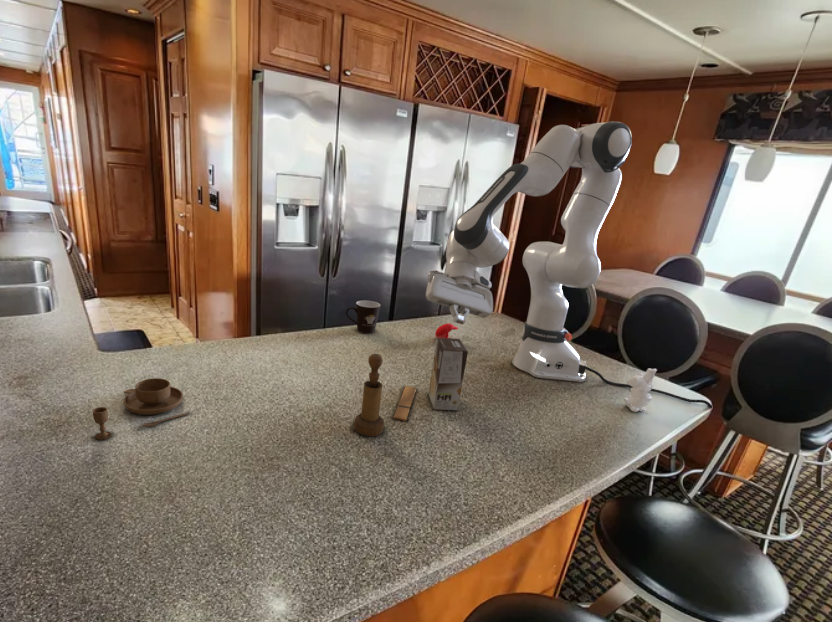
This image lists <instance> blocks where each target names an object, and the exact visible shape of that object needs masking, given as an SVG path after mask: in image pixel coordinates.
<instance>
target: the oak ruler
mask: <svg viewBox="0 0 832 622" xmlns="http://www.w3.org/2000/svg"><path fill="white" fill-rule="evenodd" d="M416 392H417V387H414V386H409V385H405V387H404V389H403V391H402V394H401V397H400V399H399V402H398V404H397V407H396V409H395V413H394V416H393V418H392V419H394V420H396V421H397V420H398V421H403V422H407V419H408V416H409V412H410V411H411V407H412V404H413V401H414V397H415V394H416Z"/></svg>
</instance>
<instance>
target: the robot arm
mask: <svg viewBox="0 0 832 622" xmlns="http://www.w3.org/2000/svg"><path fill="white" fill-rule="evenodd" d="M632 137H633V136H632V131H631V129H630V127H629V126H628V125H627V124H626V123H624V122H620V121H607V122H596V123H591V124H588V125H584V126H582V127H576V128H573V127H571V126H569V125H568V124H567V125H566V124H559V125H555V126H553V127H552V128H550V129H549V131H548V132H546V134H545V135H544V136H542V138H540V140H539V141H538V142H537V143H536V144H535V146H534V147H533V149H532V150H530V152H529V154H528V155H527V157H526V158H525V159H524V160H523V161H522V162H520V163H515V164H512V165H510V166H509V167H507V169H506V170H505V171H503V173H501V174H500V176H499V177H498V178H497V179H496V180H495V181H494V182H493V183H492V184H491V185H490V186H489V188H488V189H487V190H486V191H485V192H484V193H483V194H482V195H481V196H480V197H479V198H478V200H476V202H475V203H474V204H473V205H472V206H471V207H470V208H468V209H467V210H466V211H464V212H463V213H462V214H461V215H460V216H459V217H458V219H457V220H456V222H455V224H454V228H453V230H452V231H451V232H450V234H449V236H448V239H447V241H446V242H447V243H446V249H445V250H446V252H445V259H446V266H445V269H444V272H442V271H439V270H437V269H433V270H430V271H429V272H428V273H427V281H428V283H427V286H426V291H425V298H426V301H428V302H431V303H434V304H437V305H441V306H444V307H447V308H449V312H450V313H451V317H452V322H453V323H456V324H459V325H464V324H465V323H466V317H467V316H468V315H469V314H470V315H472V316H476V317H480V318H482V319H485V318H487V317H489V316H490V315H491V314H493V311H494V298H493V293H492V291H491V290H490V289H491V288H492V282H491V280H489V279H487V278H486V277H485V276H484V275H482V274H481V273H480V272H479V271H477V270H478V269H477V268H487V267H491V266H495V265H498V264H500V263H502V262H503V261H504V259H505V258H506V257H507V256H508V253H509V250H510V242H509V239H508V238H507V237H506V236H505V235H504V233H503V232H502V231H501V230H500V229H499V228H498V227H497V226H496V225H495V224H494V222H493V219H494V216H495V214H496V213H497V212H498V211H499V210H500V209H501V208H502V207H503V205H505V203H506V202H507V201H508V200H509V199H510V198H511V197H512V196H513V195H514V194H516V193H521V194H523V195H526V196H530V197H542V196H546V195H548V194H549V193H551V192H552V191H553V190H554V189H555V188H556V187H557V185H558V184H559V183H560V182H561V180H562V178H563V177H564V176H565V174H566V173H567V171H568V170H569V168H571V169H576V168H581V178H580V180H579V183H578V185H577V186H576V188H575V190H574V191H573V193H572V196H571V197H570V199H569V202H568V203H567V205H566V207H565V210H564V211H563V214H562V216H561V218H560V224H561V226H562V229H564V231H565V236H564V240H563V243H562V244H560V243H556V242H552V241H535V242H532V243H530V244H529V245H528V246H527V247H526V248H525V250H524V252H523V255H522V265H523V268H524V269H525V271H526V273H527V276H528V279H529V286H530V303H529V308H528V313H527V318H526V321H524V325H523V327H522V331H521V339H520V340H521V341H520V344H519V346H518V349H517V350H516V353H515V355H514V357H513V359H512V360H511V363H512V365H513V366H515V368H517V369H519V370H521V371H523V372H525V373H528V374H529V375H531V376H533V377H534V378H539V379H547V380H557V381H567V382H568V381H569V382H579V383H582V382H583V383H584V381H585V380H586V376H587V375H586V371H589V372H591V373H592V374H595V375H597V376H598V377H599V378H600V380H601V381H602V382H603V383H606V384H608V385H611V386H616V387H622V388H623V387H624V388H629V389H631V388H633V387H632V386H630V385H628V384H627V383H620V382H614V381H610V380H608V379H606V378H605V377H604V376H603V375H602V374H601V373H600V372H598V371H597V370H595V369H593V368H591V367H588V366H587V361H586V360H582V359H581V358H580V355H579V353H578V352H577V351H576V349H575V348H574V347H573V346H572V345H571V344H570V343H569V341H571V340H572V339H573V335H572V334H571V333H570V332H569V331H568V330H567V329H566V328H565V327H564V326H565V322H566V320H567V314H568V310H569V302H568V300H567V298H566V297H565V295H564V292H563V289H562V288H563V287H562V286H564V287H567V288H575V289H586V288H589V287H591V286H592V285H594V283H596V281H597V280H598V278H599V277H600V274H601V271H602V270H601V269H602V265H601V260H600V258H599V256H598V254H597V240H598V235H599V232H600V229H602V225H603V223H604V222H605V219H606V217H607V215H608V214H609V211H610V209H611V207H612V206H613V204H614V202H615V199H616V197H617V193H618V191H619V188H620V186H621V183H622V179H623V174H622V173H623V172H622V170H621V168H620V167H622V166H623V165H624V163H625V162H626V158H627V157H628V155H629V153H630V150H631V146H632V139H633V138H632ZM458 311H460V314H459V312H458ZM649 392H653V393H657V394H661V395H665V396H667V397H670V398H674V399H677V400H680V401H683V402H688V403H693V404H695V403H697V404H699V403H700V404H705V405H706V406H707V407H708V408H711V409H712V408H713V406H712V404H711V403H710V402H709V401H707V400H704V399H693V398H692V399H691V398H686V397H683V396H679V395H677V394H674V393H670V392H667V391H664V390H661V389H656V388H652V389H651V390H650V391H649Z"/></svg>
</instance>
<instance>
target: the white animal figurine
mask: <svg viewBox="0 0 832 622" xmlns="http://www.w3.org/2000/svg"><path fill="white" fill-rule="evenodd" d="M657 371H658V369H657V368H650V367H649V368H647V369H646V371H645V373H644V374H643V373H642V372H639V373H637V374H636V375H632V376H631V377H630V378H628V380H626V384H628V385H630V386H632V387H633V388H630V390H629V391H630V394H629V395H628V396H627V397H624V398H623V401H624V403H625V406H626V407H628V408H629V409H630V411H632V412H633V413H636V412H639V411H640V412H644V413H647V411H648V410H647V409H646V408H645V407H647V406H648V405H649V404H650V403H651V401H652V395H651V394H650V393H649V392H651V391H650V390H651V389H653V385H654V384H653V379H654V377H655V375H656V373H657Z"/></svg>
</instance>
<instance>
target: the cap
mask: <svg viewBox="0 0 832 622" xmlns="http://www.w3.org/2000/svg"><path fill="white" fill-rule="evenodd" d="M452 330H454V331H455V330H459V327H457V326H455V325H454V324H452V323H444V324H442V325H439V327H438V328H436V330H435V334H434V335H435V337H436V338H450V334H449V333H450V332H451V331H452Z"/></svg>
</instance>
